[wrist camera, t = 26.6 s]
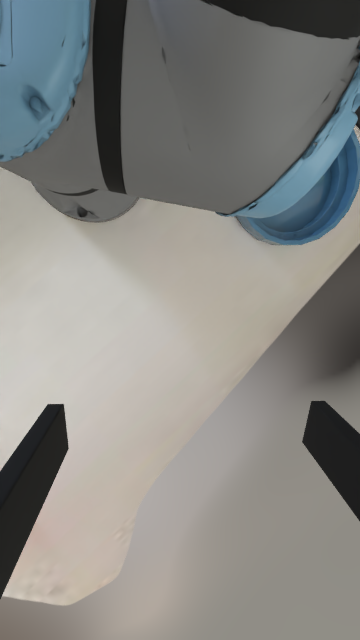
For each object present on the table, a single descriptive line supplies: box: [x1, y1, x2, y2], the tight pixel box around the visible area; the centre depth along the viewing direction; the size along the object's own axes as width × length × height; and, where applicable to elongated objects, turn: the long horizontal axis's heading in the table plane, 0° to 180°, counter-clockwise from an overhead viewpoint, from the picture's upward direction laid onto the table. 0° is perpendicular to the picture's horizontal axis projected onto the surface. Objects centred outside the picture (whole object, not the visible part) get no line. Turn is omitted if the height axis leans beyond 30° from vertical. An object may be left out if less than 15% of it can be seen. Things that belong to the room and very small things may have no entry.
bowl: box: [237, 129, 360, 245], centre depth 33 cm, size 16×16×4 cm
